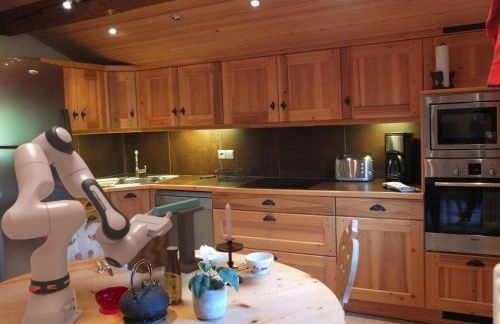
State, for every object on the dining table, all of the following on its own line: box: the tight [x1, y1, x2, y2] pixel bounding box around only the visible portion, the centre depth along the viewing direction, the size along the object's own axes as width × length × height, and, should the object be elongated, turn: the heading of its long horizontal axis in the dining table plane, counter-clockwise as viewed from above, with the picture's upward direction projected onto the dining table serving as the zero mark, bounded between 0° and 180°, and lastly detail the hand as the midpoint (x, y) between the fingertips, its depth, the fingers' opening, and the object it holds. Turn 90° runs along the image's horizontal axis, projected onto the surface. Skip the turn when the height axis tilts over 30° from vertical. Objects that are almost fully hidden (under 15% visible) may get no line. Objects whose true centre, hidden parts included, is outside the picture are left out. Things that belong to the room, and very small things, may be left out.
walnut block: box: [126, 229, 170, 274], centre depth 203 cm, size 16×10×18 cm, turn 142°
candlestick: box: [215, 195, 245, 287], centre depth 180 cm, size 11×11×35 cm
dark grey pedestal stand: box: [164, 205, 205, 275], centre depth 201 cm, size 14×14×26 cm
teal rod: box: [153, 198, 201, 217], centre depth 196 cm, size 24×3×3 cm, turn 142°
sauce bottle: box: [163, 245, 183, 305], centre depth 163 cm, size 6×6×20 cm
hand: (162, 211), depth 190 cm, fingers open, 8 cm apart
